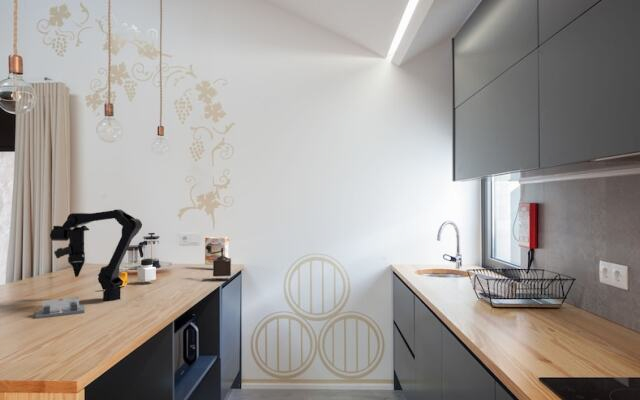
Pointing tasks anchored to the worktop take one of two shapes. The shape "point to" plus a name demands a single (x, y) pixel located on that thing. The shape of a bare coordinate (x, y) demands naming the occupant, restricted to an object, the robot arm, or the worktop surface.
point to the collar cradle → (47, 312)
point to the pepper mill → (220, 264)
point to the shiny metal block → (60, 304)
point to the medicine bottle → (146, 271)
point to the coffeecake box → (216, 248)
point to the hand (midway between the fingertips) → (76, 275)
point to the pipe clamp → (123, 278)
